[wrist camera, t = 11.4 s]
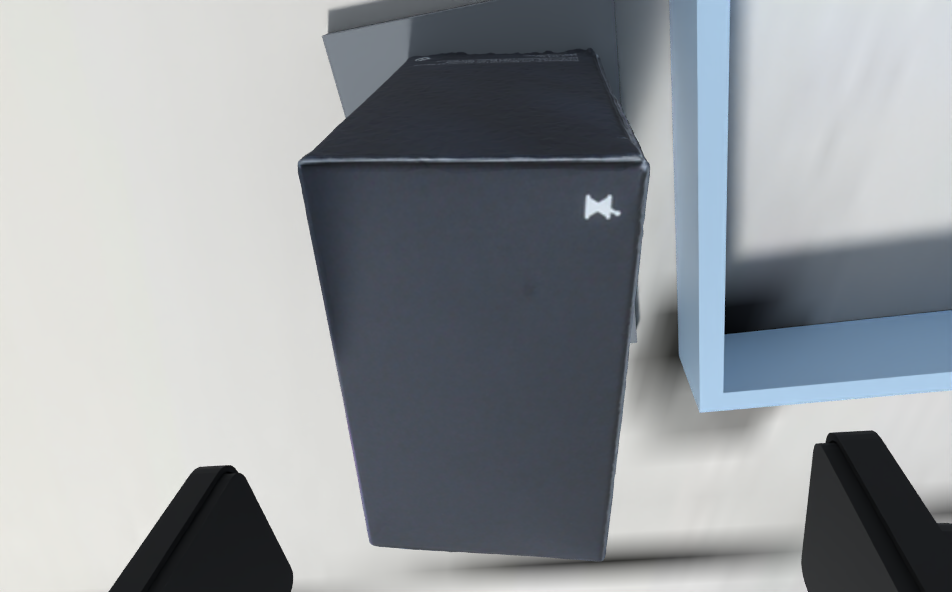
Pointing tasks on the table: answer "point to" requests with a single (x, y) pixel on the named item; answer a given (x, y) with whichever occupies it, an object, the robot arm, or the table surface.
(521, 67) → the small box
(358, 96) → the mat
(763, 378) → the bin
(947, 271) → the table surface
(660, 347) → the table surface
